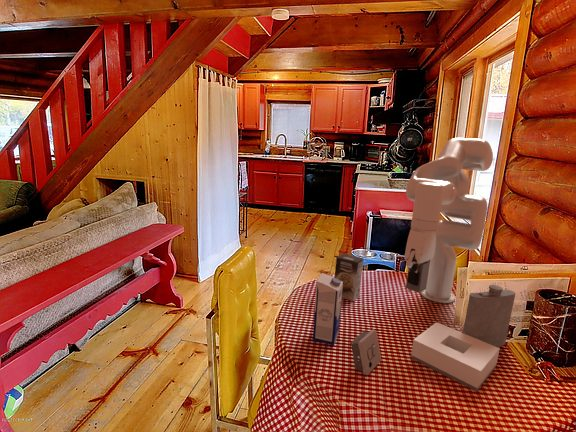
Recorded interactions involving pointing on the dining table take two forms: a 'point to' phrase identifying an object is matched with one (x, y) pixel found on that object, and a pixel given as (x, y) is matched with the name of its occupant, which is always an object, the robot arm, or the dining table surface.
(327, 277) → the milk carton
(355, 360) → the electrical switch
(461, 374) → the socket
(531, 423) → the dining table surface
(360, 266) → the coffee box
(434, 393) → the dining table surface
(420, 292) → the plug
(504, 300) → the hip flask
